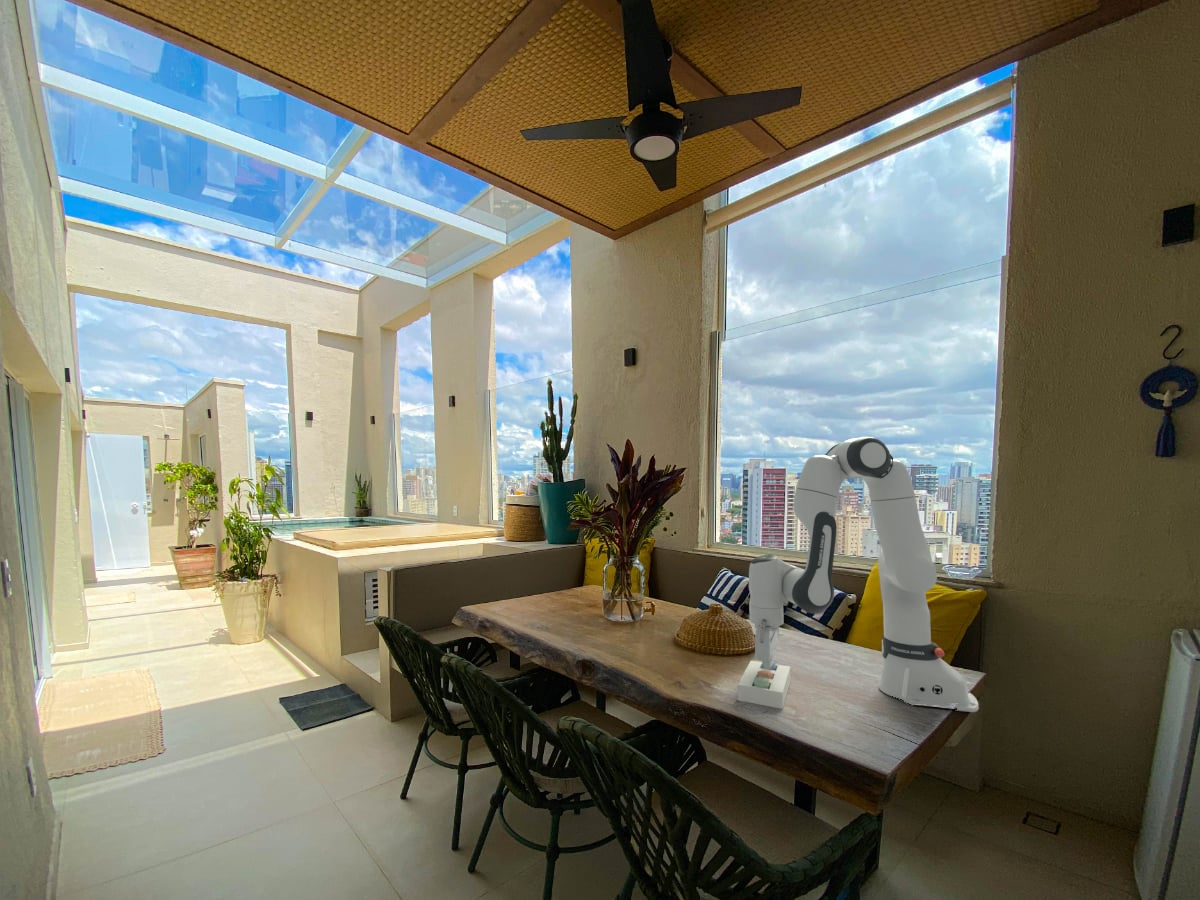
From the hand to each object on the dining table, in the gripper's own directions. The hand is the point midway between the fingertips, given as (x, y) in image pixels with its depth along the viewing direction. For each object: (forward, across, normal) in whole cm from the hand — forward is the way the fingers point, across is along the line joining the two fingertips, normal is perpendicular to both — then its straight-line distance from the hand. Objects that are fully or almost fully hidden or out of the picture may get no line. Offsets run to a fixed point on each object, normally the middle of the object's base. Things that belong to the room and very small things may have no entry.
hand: (767, 667), depth 139 cm
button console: (+6, 0, +1) cm, 6 cm away
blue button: (+4, +7, +1) cm, 8 cm away
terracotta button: (+5, 0, +1) cm, 5 cm away
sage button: (+4, -7, +1) cm, 8 cm away
